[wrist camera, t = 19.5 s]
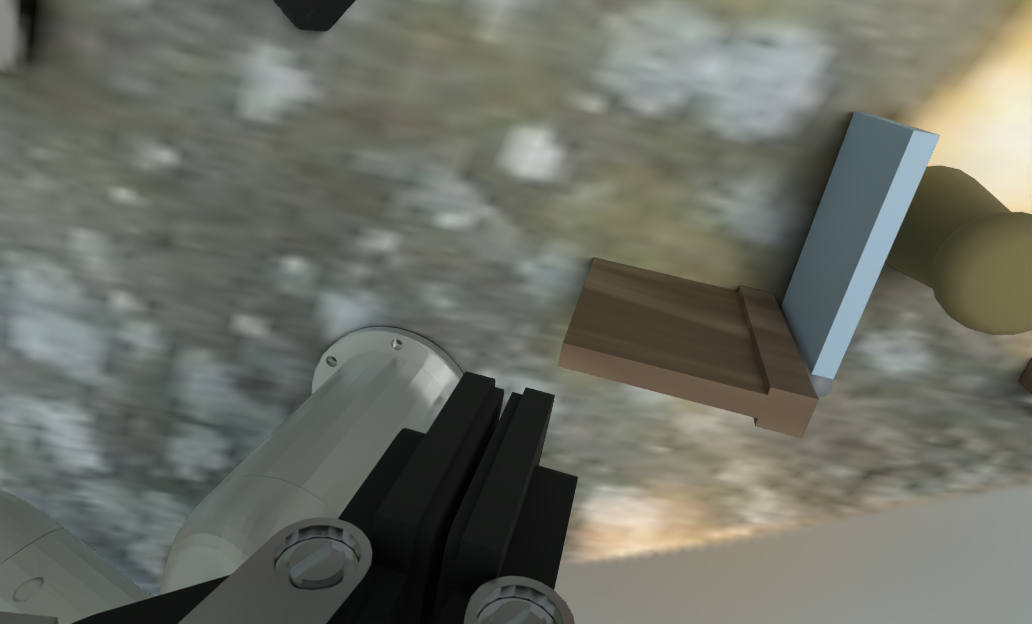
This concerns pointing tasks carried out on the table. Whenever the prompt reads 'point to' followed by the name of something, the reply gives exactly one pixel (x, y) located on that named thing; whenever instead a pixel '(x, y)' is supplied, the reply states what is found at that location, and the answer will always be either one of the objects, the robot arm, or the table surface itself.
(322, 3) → the coral
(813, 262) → the door
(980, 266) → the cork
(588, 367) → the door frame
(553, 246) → the table surface
